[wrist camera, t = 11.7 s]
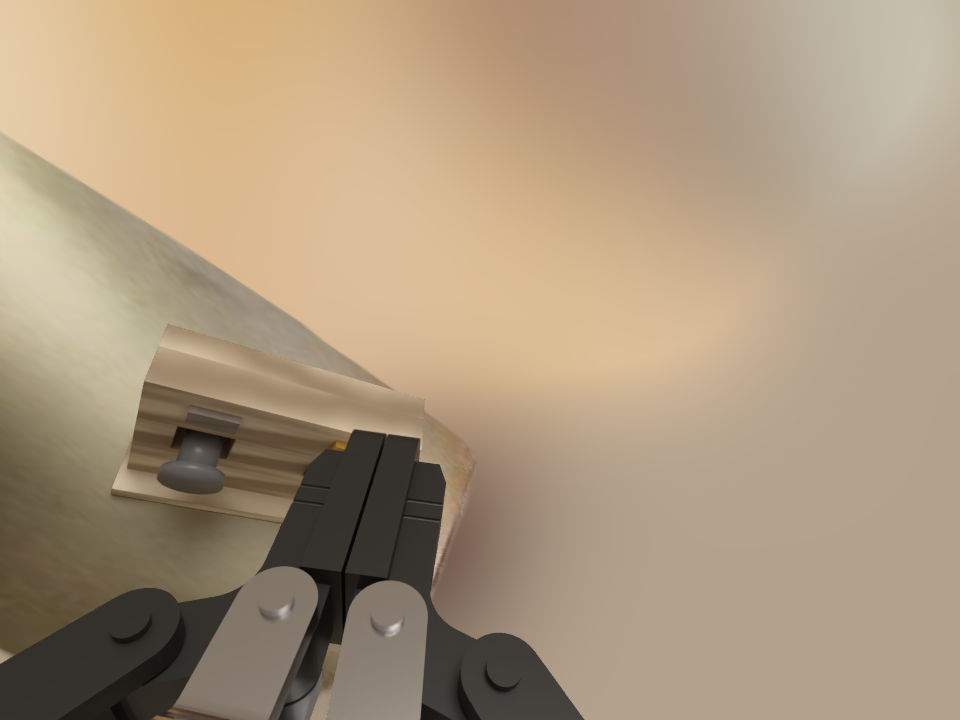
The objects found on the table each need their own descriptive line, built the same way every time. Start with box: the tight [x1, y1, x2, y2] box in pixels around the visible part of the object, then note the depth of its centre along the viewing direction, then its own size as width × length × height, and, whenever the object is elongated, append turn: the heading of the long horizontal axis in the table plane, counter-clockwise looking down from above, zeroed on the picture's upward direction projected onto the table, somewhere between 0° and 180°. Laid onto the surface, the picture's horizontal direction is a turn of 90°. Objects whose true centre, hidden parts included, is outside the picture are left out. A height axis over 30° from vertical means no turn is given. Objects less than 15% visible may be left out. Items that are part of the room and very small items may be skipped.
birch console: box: [111, 324, 425, 523], centre depth 50 cm, size 8×22×18 cm, turn 92°
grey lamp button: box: [157, 429, 226, 495], centre depth 45 cm, size 4×5×5 cm
